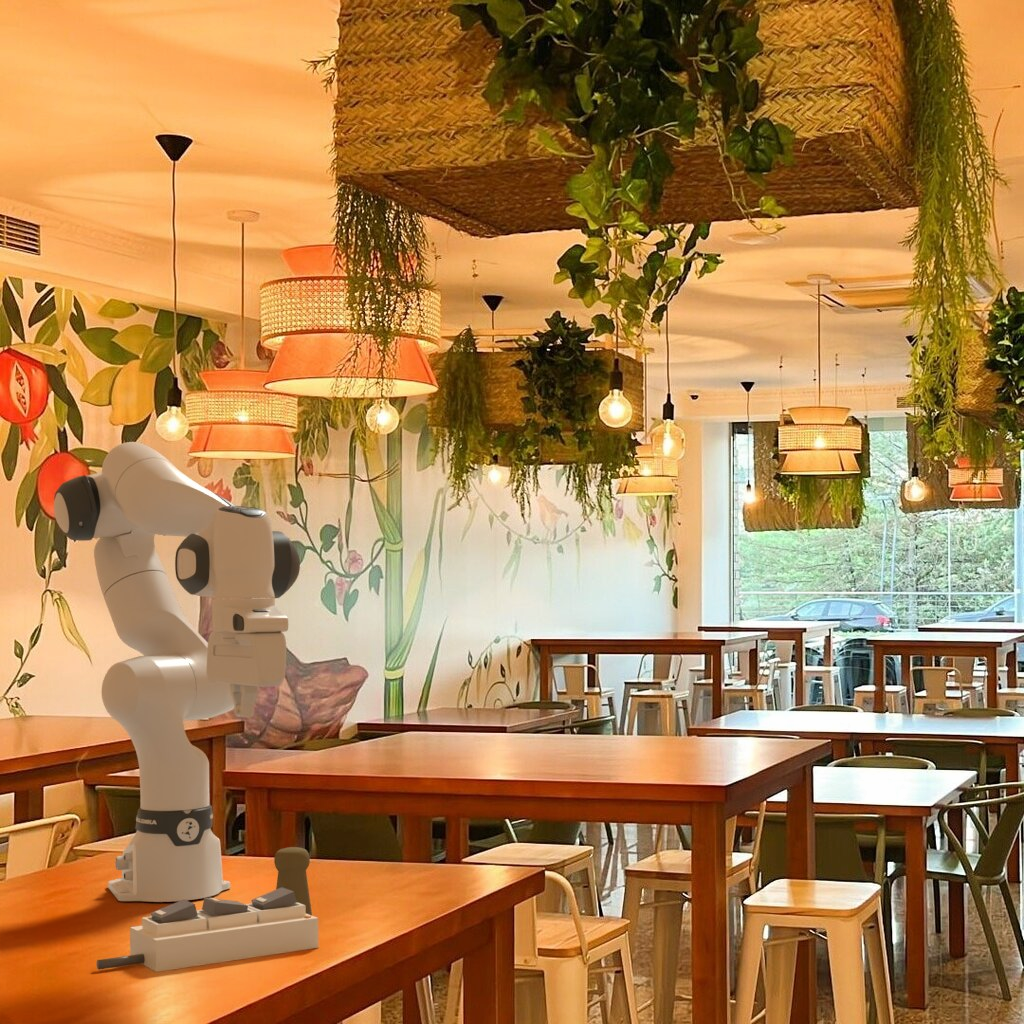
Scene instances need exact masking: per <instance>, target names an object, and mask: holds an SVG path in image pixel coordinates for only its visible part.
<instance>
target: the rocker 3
mask: <svg viewBox="0 0 1024 1024" xmlns="http://www.w3.org/2000/svg"><path fill="white" fill-rule="evenodd" d="M295 903H297V901H296V897H295V893H294V891H291V890H288V889H286V888H283V887H281V888H279V889H277V890H276V889H274V890H273V891H270V892H267V893H265V894H263V895H259V896H257V897H256V898H253V899H251V904H252V905H253V907H254V908H257V909H260V910H268V909H275V908H283V907H288V906H290V905H292V904H295Z"/></svg>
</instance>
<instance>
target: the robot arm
mask: <svg viewBox="0 0 1024 1024" xmlns="http://www.w3.org/2000/svg"><path fill="white" fill-rule="evenodd" d="M101 466H102V467H101V471H100V472H96V473H92V474H88V475H85V474H83V475H80V476H77V477H74V478H72V479H68V480H67V481H65V482H63V483H62V484H60V486H59V487H58V489H57V490H56V491H55V493H54V499H53V500H54V501H53V503H54V504H53V513H54V517H55V521H56V523H57V524H58V526H59V529H60V530H61V533H62V534H63V535H64V536H65V537H67V538H68V539H69V540H72V541H78V542H79V541H80V542H81V541H83V542H84V541H85V542H86V541H92V540H93V539H98V540H97V541H96V543H95V546H94V549H93V558H94V564H95V571H96V576H97V578H98V583H99V586H100V590H101V593H102V595H103V596H102V597H103V599H104V601H105V604H106V607H107V610H108V612H109V616H110V618H111V622H112V623H113V625H114V629H115V631H116V634H117V636H118V637H119V639H120V640H121V642H122V643H123V644H125V645H126V646H128V647H130V648H132V649H133V650H136V651H137V652H139V653H140V654H142V655H140V656H139V655H138V656H136V657H132V658H129V659H128V658H127V659H125V660H122V661H118V662H116V663H114V664H113V665H111V667H110V668H109V669H108V670H107V671H106V673H105V676H104V677H103V680H102V682H101V683H102V684H101V698H102V703H103V706H104V708H105V710H106V712H107V713H108V714H109V716H110V717H111V718H112V719H114V720H115V721H116V722H118V724H120V725H121V726H122V727H123V729H124V730H125V731H126V733H127V734H128V736H129V738H130V740H131V743H132V745H133V747H134V749H135V753H136V757H137V761H138V762H137V763H138V767H139V768H138V770H139V771H138V773H139V790H140V793H139V795H140V796H139V797H140V801H139V802H140V807H139V808H138V809H137V815H136V817H135V821H136V823H135V830H136V831H135V834H134V836H132V839H131V840H130V841H129V843H128V845H126V847H125V849H124V850H123V852H122V855H117V856H116V857H115V863H114V864H115V870H116V871H121V878H116V879H112V880H109V881H108V882H107V888H108V890H110V893H112V895H113V896H114V897H115V898H116V900H117V901H119V902H149V903H150V902H151V903H152V902H153V903H163V902H164V903H165V902H167V903H168V902H179V901H181V900H186V901H192V900H193V901H194V900H198V899H204V898H211V897H213V896H216V895H219V894H220V893H221V892H222V891H225V890H228V889H230V888H231V881H228V880H224V878H223V863H222V849H221V839H220V838H219V837H218V836H216V835H215V834H214V832H213V831H212V829H211V828H212V827H213V818H214V813H213V806H212V805H211V804H210V761H209V759H208V756H207V755H206V753H205V752H204V751H203V750H202V749H200V748H198V747H197V746H195V745H193V744H192V743H191V741H190V740H189V738H188V736H187V733H186V729H185V724H184V723H185V721H195V720H207V719H211V718H214V717H217V716H220V715H223V714H226V713H228V712H231V711H233V712H234V714H233V715H234V716H235V717H238V718H253V717H254V715H255V703H256V701H257V698H258V695H259V687H261V688H267V687H268V688H269V687H280V686H282V685H283V683H284V680H285V676H286V668H287V666H286V665H287V639H286V636H285V634H284V633H285V632H288V630H289V618H288V616H287V615H286V614H284V613H283V611H281V610H279V608H278V606H276V599H279V598H281V597H282V596H284V594H286V593H287V592H288V591H289V590H290V588H291V587H292V586H293V585H294V584H295V582H296V581H297V580H298V577H299V575H300V574H299V573H300V571H301V569H300V568H301V560H300V555H299V552H298V550H297V548H296V546H295V545H294V543H293V541H291V539H290V538H289V537H288V536H287V535H286V534H285V533H284V532H283V531H279V530H278V531H277V530H273V528H272V522H271V517H270V516H269V515H270V514H269V513H268V512H267V511H265V510H264V509H262V508H259V507H258V508H257V507H254V506H250V507H249V506H244V505H235V504H233V503H232V502H231V501H229V500H228V499H226V498H224V497H222V496H221V495H219V494H218V493H216V492H213V491H211V490H210V489H208V488H207V487H204V486H203V485H201V484H199V483H197V482H196V481H195V480H194V479H192V478H191V477H189V476H187V475H186V474H185V473H183V472H182V471H181V470H179V469H178V468H177V467H176V466H175V465H174V464H173V462H171V461H170V460H169V459H168V458H167V457H165V456H164V454H162V453H160V452H158V451H157V450H155V448H152V447H150V446H148V445H147V444H145V443H142V442H137V441H129V442H128V441H127V442H124V443H120V444H118V445H116V446H114V447H113V448H112V449H110V451H109V452H107V454H106V456H105V458H104V460H103V463H102V465H101ZM155 535H156V536H157V535H158V536H171V537H185V538H184V539H183V540H182V541H181V543H180V544H179V546H178V547H177V549H176V550H175V551H176V552H175V557H174V558H175V560H174V568H175V570H174V571H175V577H176V579H177V581H178V584H180V586H181V587H182V589H184V590H185V591H186V592H187V594H188V593H189V595H192V596H197V597H206V598H208V597H211V627H212V628H211V629H212V630H211V631H212V632H211V633H210V634H209V636H208V640H206V639H205V638H204V637H203V636H202V634H201V633H199V632H198V631H197V629H196V628H195V627H194V626H193V625H192V623H191V622H190V621H189V619H188V617H187V616H186V614H185V613H184V611H183V609H182V607H181V605H180V602H179V600H178V599H177V596H176V594H175V591H174V589H173V587H172V584H171V581H170V579H169V576H168V574H167V572H166V569H165V567H164V565H163V562H162V561H161V558H160V555H159V554H158V552H157V549H156V546H155Z"/></svg>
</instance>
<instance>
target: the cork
mask: <svg viewBox="0 0 1024 1024" xmlns="http://www.w3.org/2000/svg"><path fill="white" fill-rule="evenodd" d="M310 859H311V858H310V853H309V852H308V850H307V849H305V848H303V847H298V846H291V847H290V846H289V847H285V848H284V847H282V848H280V849H278V850H277V851H276V853H275V855H274V859H273V860H274V862H273V863H274V867H275V868H276V870H277V878H276V888H275V890H277V889H279V888H281V887H283V888H286V889H288V890H291V891H294V893H295V897H296V901H297V902H298V903H301V904H303V905H305V906H306V914H309V915H311V916H313V913H312V905H311V899H310V889H309V884H308V883H309V882H308V877H307V875H308V874H307V869H308V868H309V866H310V863H311V861H310Z"/></svg>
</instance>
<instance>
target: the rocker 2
mask: <svg viewBox="0 0 1024 1024" xmlns="http://www.w3.org/2000/svg"><path fill="white" fill-rule="evenodd" d="M247 909H248V905H245V903H242V902H240V901H237V900H231V899H230V900H228V899H220V898H214V897H206V898H203V902H202V907H201V910H204V911H206V912H209V913H211V914H214V915H230V914H238V913H245V912H247Z"/></svg>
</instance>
